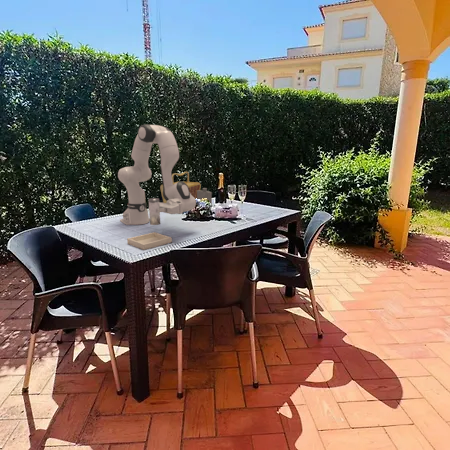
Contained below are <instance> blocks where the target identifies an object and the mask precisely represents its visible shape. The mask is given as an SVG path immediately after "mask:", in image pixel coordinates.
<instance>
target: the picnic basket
mask: <svg viewBox="0 0 450 450" xmlns="http://www.w3.org/2000/svg"><path fill="white" fill-rule="evenodd" d="M185 174H187V181H183V182H184V183H186V184H187V185H188V187H189V192H190V193H191V195H192V196H193V197H194V198H195V199H196V198H197V190H201V183H200V182H198V181H197V182H196V181H195V182H194V181H190V174H189V172H188V171H184V172H182V173H171V175H172V182H173V185H174V184H175V183H178V182H180V180H179V181H176V182H174V176H178V177H182V176H184V175H185ZM159 188H160V192H161V197H162V203H166V202H167V201H166V200H165V199H164V197H163V184H161V185H160V187H159Z"/></svg>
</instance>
